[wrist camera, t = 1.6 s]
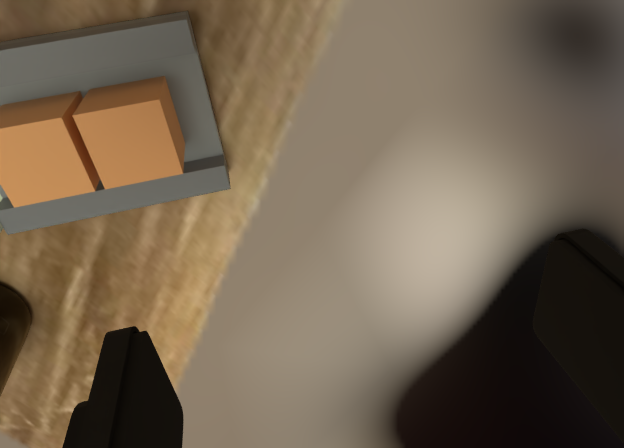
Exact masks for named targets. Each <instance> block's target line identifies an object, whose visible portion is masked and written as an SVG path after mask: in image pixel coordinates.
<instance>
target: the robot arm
mask: <svg viewBox="0 0 624 448" xmlns="http://www.w3.org/2000/svg"><path fill="white" fill-rule="evenodd" d="M533 328H534V331H535V333H536V335H537V336H538V338H539V339H540V340H541V342H542V343H543V344H544V345H545V347H546V348H547V349H548V350H549V351H550V353H551V354H552V355H553V356H554V358H555V359H556V360H557V361H558V363H559V364H560V365H561V366H562V368H563V369H564V370H565V371H566V372H567V374H568V375H569V376H570V377H571V379H572V380H573V381H574V382H575V384H576V385H577V386H578V387H579V389H580V390H581V391H582V392H583V393H584V395H585V396H586V397H587V398H588V400H589V401H590V402H591V403H592V405H593V406H594V407H595V408H596V410H597V411H598V412H599V413H600V414H601V416H602V417H603V418H604V419H605V421H606V422H607V423H608V424H609V425H610V427H611V428H612V429H613V430H614V432H615V433H616V434H617V436H618V437H619V438H620V439H621V440H622V442H623V443H624V258H623V257H622V256H621V255H620V254H618V253H617V252H616V251H614V250H613V249H612V248H611V247H609V246H608V245H607V244H606V243H604V242H603V241H602V240H600V239H599V238H598V237H597V236H595V235H594V234H593V233H592V232H590V231H589V230H587V229H579V230H574V231H569V232H565V233H561V234H558V235H557V236H556V238H555V240H554V241H553V242H551V244H550V246H549V250H548V254H547V259H546V263H545V268H544V273H543V277H542V282H541V286H540V291H539V295H538V300H537V305H536V309H535V314H534V318H533ZM182 438H183V411H182V407H181V404H180V402H179V399H178V397H177V395H176V393H175V391H174V388H173V386H172V384H171V382H170V380H169V378H168V375H167V373H166V371H165V369H164V367H163V364H162V362H161V360H160V358H159V356H158V354H157V351H156V349H155V347H154V345H153V343H152V340H151V338H150V336H149V334H148V332H147V331H142V332H139V330H138V328H137V327H135V326H133V327H129V328H124V329H119V330H115V331H110V332H107V333H106V335H105V337H104V341H103V345H102V349H101V353H100V356H99V360H98V364H97V368H96V372H95V376H94V380H93V384H92V388H91V392H90V395H89V399H88V401H84V402H81V403H78V405H77V406H76V407H75V408H74V411H73V413H72V416H71V419H70V423H69V426H68V430H67V433H66V437H65V441H64V444H63V448H182Z"/></svg>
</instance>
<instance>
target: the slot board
mask: <svg viewBox="0 0 624 448" xmlns="http://www.w3.org/2000/svg"><path fill="white" fill-rule="evenodd" d="M161 76H165V78H166V82H167V85H168V88H169V91H170V95H171V98H172V101H173V105H174V108H175V111H176V114H177V118H178V121H179V124H180V128H181V131H182V134H183V137H184V141H185V154H184V168H183V174H180V175H175V176H170V177H165V178H160V179H155V180H150V181H145V182H140V183H135V184H130V185H125V186H120V187H115V188H110V189H105V188H104V186H103V184H102V181H101V179H100V180H99V183H98V185H97V188H96V191H95V192H90V193H85V194H80V195H75V196H70V197H65V198H60V199H55V200H50V201H45V202H40V203H35V204H30V205H25V206H20V207H15V208H14V207H13V205H12V203H11V201H10V200H9V198H8V196H7V195H6V193H5V191H4V190H3V188H2V186H1V185H0V195H1V196H2V198H3V199H2V200H1V202H0V223H1V225H2V226H3V228H4V230H5V231H6V233H7V234H8V235H9V234H13V233H18V232H23V231H28V230H33V229H38V228H43V227H47V226H52V225H57V224H62V223H67V222H72V221H77V220H81V219H86V218H91V217H96V216H101V215H106V214H111V213H115V212H120V211H125V210H130V209H135V208H140V207H145V206H149V205H154V204H159V203H164V202H169V201H174V200H179V199H184V198H188V197H193V196H198V195H203V194H208V193H213V192H218V191H222V190H227V189H230V180H229V171H228V167H227V163H226V159H225V155H224V151H223V147H222V143H221V139H220V135H219V131H218V128H217V124H216V120H215V116H214V112H213V108H212V104H211V100H210V96H209V92H208V88H207V84H206V80H205V77H204V73H203V69H202V65H201V61H200V57H199V53H198V49H197V45H196V41H195V37H194V33H193V30H192V26H191V22H190V18H189V14H188V11H184V12H178V13H172V14H166V15H160V16H154V17H148V18H142V19H136V20H130V21H124V22H118V23H112V24H106V25H100V26H94V27H88V28H82V29H76V30H70V31H64V32H58V33H52V34H46V35H40V36H34V37H28V38H22V39H16V40H10V41H4V42H0V106H1V105H4V104H10V103H15V102H21V101H26V100H32V99H38V98H43V97H49V96H54V95H60V94H65V93H71V92H77V91H80V92H81V95H82V97H83V98H84V97H85V95H86V94H87V92H88V91H89V89H93V88H99V87H105V86H110V85H116V84H121V83H127V82H133V81H138V80H144V79H149V78H155V77H161Z"/></svg>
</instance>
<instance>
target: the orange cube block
mask: <svg viewBox="0 0 624 448" xmlns="http://www.w3.org/2000/svg"><path fill="white" fill-rule="evenodd" d="M82 100H83V97H82V95H81V92H80V91H77V92H71V93H65V94H60V95H54V96H49V97H43V98H38V99H32V100H26V101H21V102H15V103H10V104H4V105H1V106H0V185H1V186H2V188H3V190H4V191H5V193H6V195H7V196H8V198H9V200H10V201H11V203H12V205H13V207H14V208H15V207H20V206H25V205H30V204H35V203H40V202H45V201H50V200H55V199H60V198H65V197H70V196H75V195H80V194H85V193H90V192H95V191H96V188H97V185H98V183H99V180H100V177H99V175H98V172H97V170H96V168H95V166H94V163H93V161H92V159H91V156H90V154H89V152H88V150H87V147H86V145H85V143H84V141H83V138H82V136H81V134H80V132H79V129H78V127H77V125H76V123H75V120H74V118H73V116H72V115H73V114H74V112H75V111H76V109H77V108H78V106H79V104H80V103H81V101H82Z"/></svg>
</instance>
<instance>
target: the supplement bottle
mask: <svg viewBox="0 0 624 448" xmlns="http://www.w3.org/2000/svg"><path fill="white" fill-rule="evenodd" d="M30 325H31V316H30V312H29V310H28V308H27V306H26V304H25V303H24V301H23V300H22V299H21V298H20V297H19V296H18V295H17V294H15V293H14V292H13V291H11V290H10V289H8V288H6V287H4V286H2V285H0V396H1V394H2V392H3V389H4V387H5V385H6V383H7V380H8V378H9V376H10V374H11V371H12V369H13V367H14V364H15V362H16V360H17V358H18V355H19V353H20V351H21V349H22V346H23V344H24V342H25V339H26V337H27V335H28V332H29V329H30Z"/></svg>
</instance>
